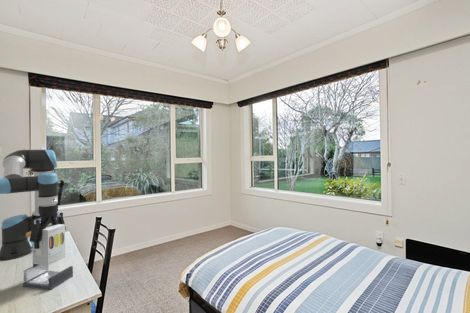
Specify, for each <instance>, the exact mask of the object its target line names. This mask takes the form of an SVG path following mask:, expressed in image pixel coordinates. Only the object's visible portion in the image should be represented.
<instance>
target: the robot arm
mask: <svg viewBox="0 0 470 313" xmlns="http://www.w3.org/2000/svg"><path fill="white" fill-rule="evenodd" d="M56 157H57V155H56V152H55V151H54V150H52V149H20V150H16V151H13V152H11V153H9V154H8V155H6V156H5V157H4V158H3V161H2V167H3V168H4V171H3V177H0V195H2V194H4V195H5V194H6V195H8V194H18V193H28V192H30V193H31V192H34V210H33V212H32V213H31V215H30V216H28V214H18V215H13V216H9V217H7V218H5V219H3V220H2V222H1V228H0V229H1V247H0V260H1V261H5V260H6V261H7V260H15V259H17V258H22V257H24V256H26V255H29V254H31V252H33V247H31V245H30V242H34V248H35V249H36V255H42V241H40V240H41V237H42V230H43V229H45V228H46V227H47V226H48V225H49V224H50V223H51V224H52V225H58V224H64V225H65V231H67V228H66V223H65V220H64V213H63V212H59V204H58V203H59V195H58V189H59V188H58V186H59V185H58V184H59V182H58V181H59V178H58V174H57V173H56V172H54V171H55V168H57V167H58V160H57V158H56ZM24 169H28V170H30V172H31V173H33V176H32V175H31V176H24ZM30 231H31V236H30V237H26V233H27V232H30ZM37 238H38V239H37Z"/></svg>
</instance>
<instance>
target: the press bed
mask: <svg viewBox="0 0 470 313" xmlns="http://www.w3.org/2000/svg"><path fill="white" fill-rule="evenodd" d="M73 276H74V267H73V266H72V265H69V267H66V268H65V269H63V270H61V271H56V270H47V271H45V272H44V273H42V274H40V275H38V276H36V277H34V278H32V279H30V280H29V281H27V282H26V281H23V283H21V284H22V287H24V288H32V289H40V290H49V291H51V290H53V289H55V288H56V287H58V286H59V285H61V284H63V283H64V282H66V281H68V280H69V279H71V278H72V277H73Z"/></svg>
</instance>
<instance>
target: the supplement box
mask: <svg viewBox="0 0 470 313" xmlns="http://www.w3.org/2000/svg"><path fill="white" fill-rule="evenodd" d="M65 227H66V224H65V225H64V224H58V225H52V224H51V223H50V224H49V225H48V226H47V227H46V228H45V229H43V230H42V237H41V240H40V241H42V255H36V249H35V248H34V242H32V243H33V247H32V265H33V264H40V265H47V266H48V267H49V266H50V265H52V264H55V263H56V262H58V261H61V260H62V259H65V258H66V230H65ZM37 239H38V238H37Z"/></svg>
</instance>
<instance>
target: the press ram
mask: <svg viewBox="0 0 470 313" xmlns="http://www.w3.org/2000/svg"><path fill="white" fill-rule="evenodd" d="M30 236H31V231H30V232H27V233H26V237H28V238H30ZM45 271H49V265H48V266H47V265H40V264H33V263H32V266H31V267H29V268H27V269H24V270H23V282H27V281H29V280H30V279H32V278H34V277H36V276H38V275H40V274H42V273H44V272H45Z"/></svg>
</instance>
